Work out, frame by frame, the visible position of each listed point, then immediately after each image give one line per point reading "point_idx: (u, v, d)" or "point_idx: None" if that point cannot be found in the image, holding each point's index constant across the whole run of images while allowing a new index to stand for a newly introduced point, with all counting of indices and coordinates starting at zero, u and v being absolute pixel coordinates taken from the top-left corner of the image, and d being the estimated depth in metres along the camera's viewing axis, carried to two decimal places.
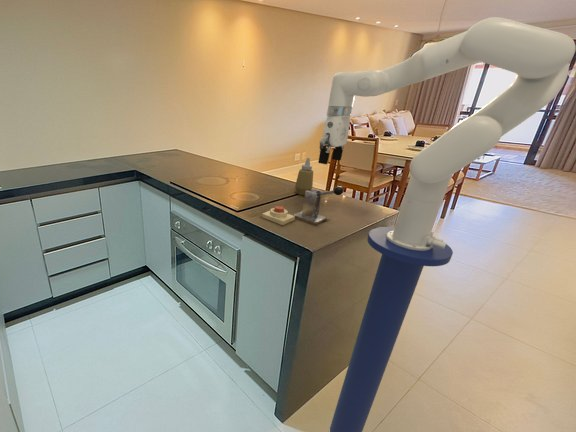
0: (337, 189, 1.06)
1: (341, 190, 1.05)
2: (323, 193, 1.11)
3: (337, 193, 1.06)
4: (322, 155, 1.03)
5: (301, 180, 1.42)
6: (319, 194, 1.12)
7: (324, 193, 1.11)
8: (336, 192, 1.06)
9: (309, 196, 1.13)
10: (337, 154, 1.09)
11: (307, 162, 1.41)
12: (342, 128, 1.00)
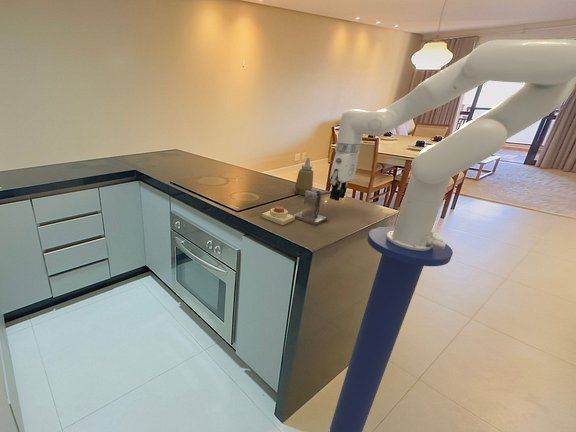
0: None
1: (341, 190, 1.05)
2: (323, 193, 1.11)
3: None
4: (334, 192, 1.05)
5: (301, 180, 1.42)
6: (319, 194, 1.12)
7: (324, 193, 1.11)
8: None
9: (309, 196, 1.13)
10: None
11: (307, 162, 1.41)
12: (351, 164, 1.00)
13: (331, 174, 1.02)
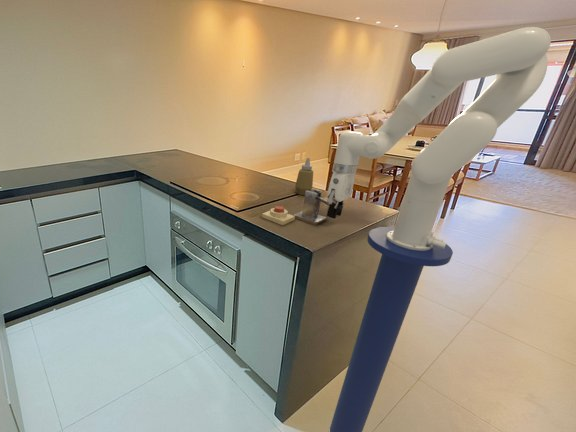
0: None
1: (339, 210, 1.08)
2: (322, 201, 1.12)
3: None
4: (330, 210, 1.08)
5: (301, 180, 1.42)
6: (319, 199, 1.13)
7: (323, 201, 1.12)
8: None
9: (309, 196, 1.13)
10: None
11: (307, 162, 1.41)
12: (347, 184, 1.03)
13: (328, 193, 1.05)
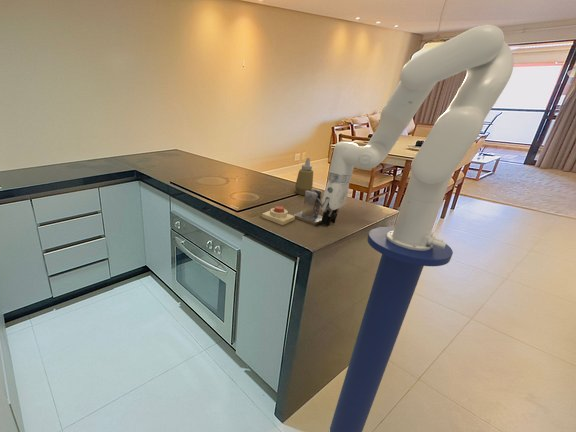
0: (331, 215, 1.10)
1: (332, 218, 1.11)
2: (320, 204, 1.13)
3: None
4: (325, 217, 1.10)
5: (301, 180, 1.42)
6: (317, 201, 1.14)
7: (321, 205, 1.13)
8: None
9: (309, 196, 1.13)
10: None
11: (307, 162, 1.41)
12: (341, 193, 1.05)
13: (323, 201, 1.07)
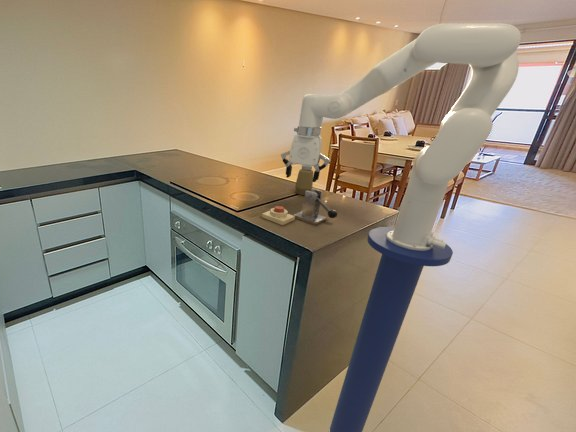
0: (332, 214, 1.10)
1: (334, 217, 1.10)
2: (321, 203, 1.13)
3: (329, 216, 1.11)
4: None
5: (301, 180, 1.42)
6: (317, 200, 1.14)
7: (321, 204, 1.13)
8: (329, 215, 1.10)
9: (309, 196, 1.13)
10: None
11: None
12: (300, 147, 1.04)
13: None
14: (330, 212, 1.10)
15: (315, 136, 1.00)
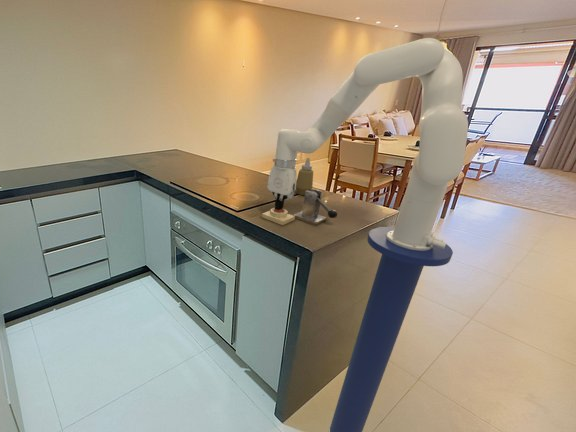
0: (332, 214, 1.10)
1: (334, 217, 1.10)
2: (321, 203, 1.13)
3: (329, 216, 1.11)
4: None
5: (301, 180, 1.42)
6: (317, 200, 1.14)
7: (321, 204, 1.13)
8: (329, 215, 1.10)
9: (309, 196, 1.13)
10: None
11: (307, 162, 1.41)
12: (276, 177, 1.11)
13: None
14: (330, 212, 1.10)
15: (287, 168, 1.07)
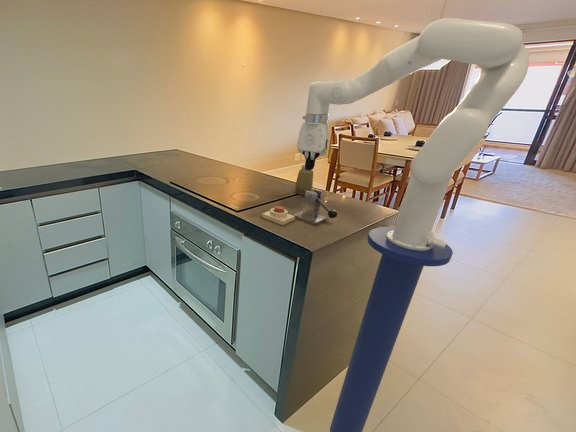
0: (332, 214, 1.10)
1: (334, 217, 1.10)
2: (321, 203, 1.13)
3: (329, 216, 1.11)
4: None
5: (301, 180, 1.42)
6: (317, 200, 1.14)
7: (321, 204, 1.13)
8: (329, 215, 1.10)
9: (309, 196, 1.13)
10: None
11: None
12: (307, 134, 1.07)
13: None
14: (330, 212, 1.10)
15: (320, 123, 1.03)
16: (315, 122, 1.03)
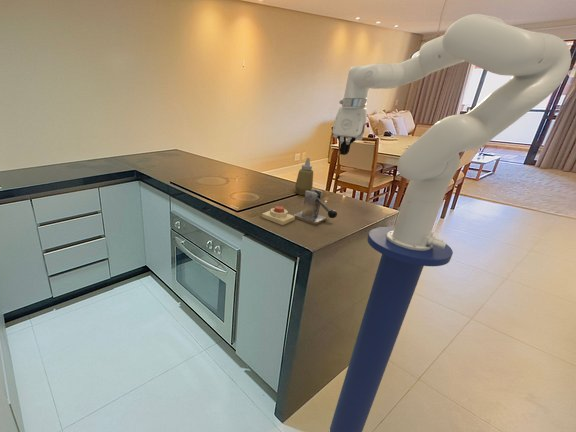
0: (332, 214, 1.10)
1: (334, 217, 1.10)
2: (321, 203, 1.13)
3: (329, 216, 1.11)
4: None
5: (301, 180, 1.42)
6: (317, 200, 1.14)
7: (321, 204, 1.13)
8: (329, 215, 1.10)
9: (309, 196, 1.13)
10: None
11: (307, 162, 1.41)
12: (344, 118, 1.08)
13: None
14: (330, 212, 1.10)
15: (359, 107, 1.04)
16: (353, 106, 1.04)
